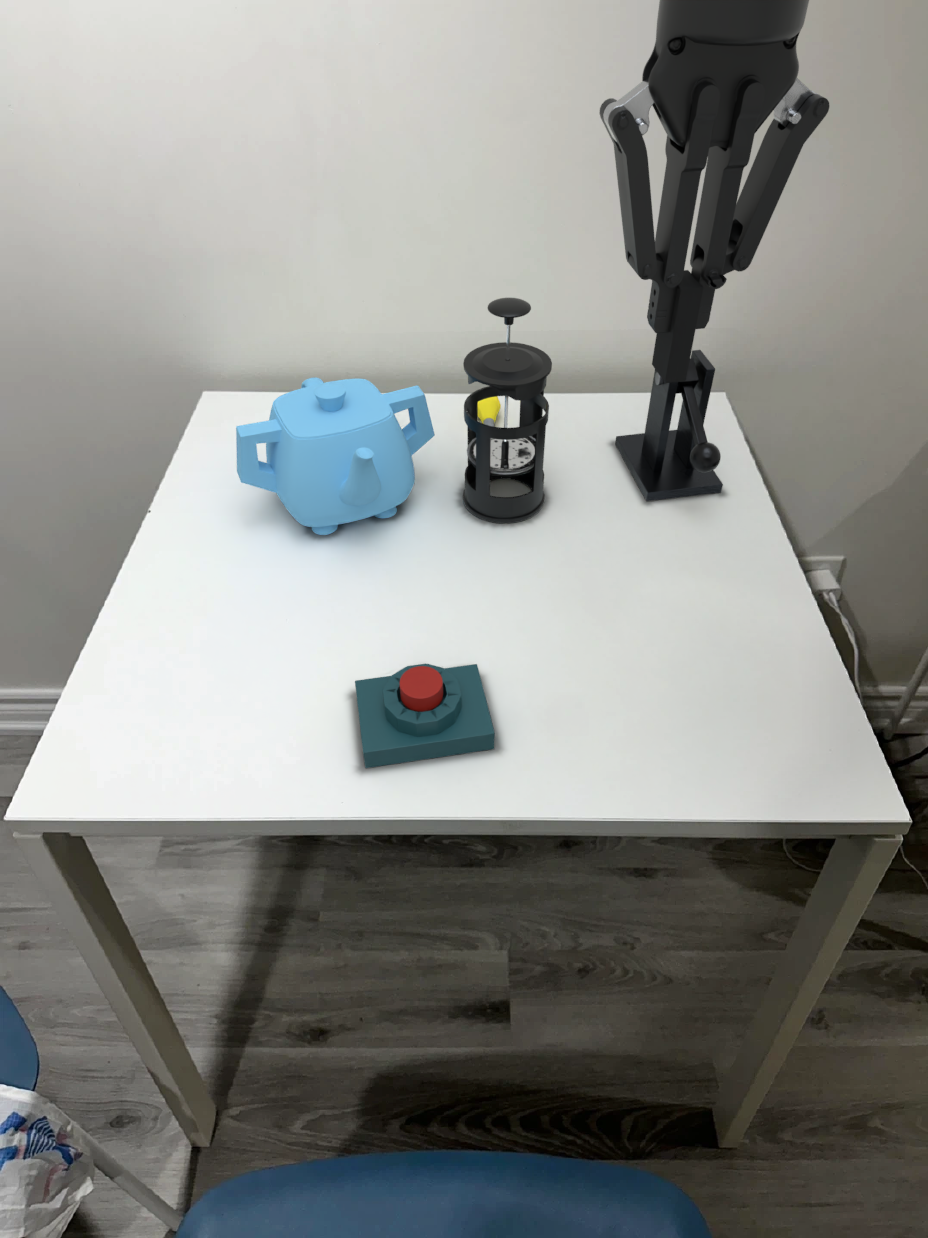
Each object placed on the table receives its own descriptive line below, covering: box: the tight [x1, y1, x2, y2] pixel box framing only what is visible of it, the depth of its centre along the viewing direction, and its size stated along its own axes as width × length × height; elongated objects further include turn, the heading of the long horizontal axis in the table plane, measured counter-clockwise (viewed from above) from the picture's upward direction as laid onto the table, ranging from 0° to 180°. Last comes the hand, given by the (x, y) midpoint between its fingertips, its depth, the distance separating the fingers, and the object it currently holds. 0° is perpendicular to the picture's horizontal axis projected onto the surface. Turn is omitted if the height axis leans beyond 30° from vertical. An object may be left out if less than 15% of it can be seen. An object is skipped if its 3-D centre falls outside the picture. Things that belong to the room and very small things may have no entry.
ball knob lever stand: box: [614, 349, 724, 502], centre depth 97 cm, size 12×9×14 cm
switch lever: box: [676, 357, 722, 473], centre depth 92 cm, size 13×3×3 cm, turn 10°
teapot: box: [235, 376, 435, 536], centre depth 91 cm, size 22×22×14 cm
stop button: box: [400, 666, 443, 712], centre depth 71 cm, size 4×4×2 cm
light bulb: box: [478, 396, 502, 427], centre depth 108 cm, size 3×6×4 cm, turn 4°
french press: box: [462, 297, 553, 524], centre depth 90 cm, size 12×9×23 cm
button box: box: [354, 663, 496, 769], centre depth 73 cm, size 8×11×4 cm
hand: (668, 372), depth 59 cm, fingers closed
